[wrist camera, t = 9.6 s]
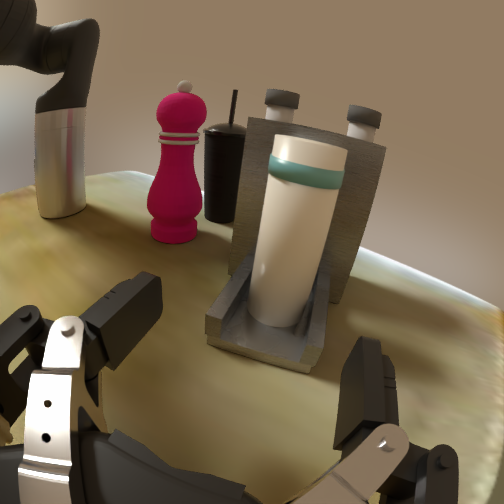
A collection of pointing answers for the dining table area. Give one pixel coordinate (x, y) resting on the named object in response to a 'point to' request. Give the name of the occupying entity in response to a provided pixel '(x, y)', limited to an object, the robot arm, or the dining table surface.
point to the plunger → (281, 105)
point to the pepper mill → (177, 168)
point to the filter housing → (331, 263)
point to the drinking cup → (223, 167)
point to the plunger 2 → (363, 122)
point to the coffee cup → (293, 227)
